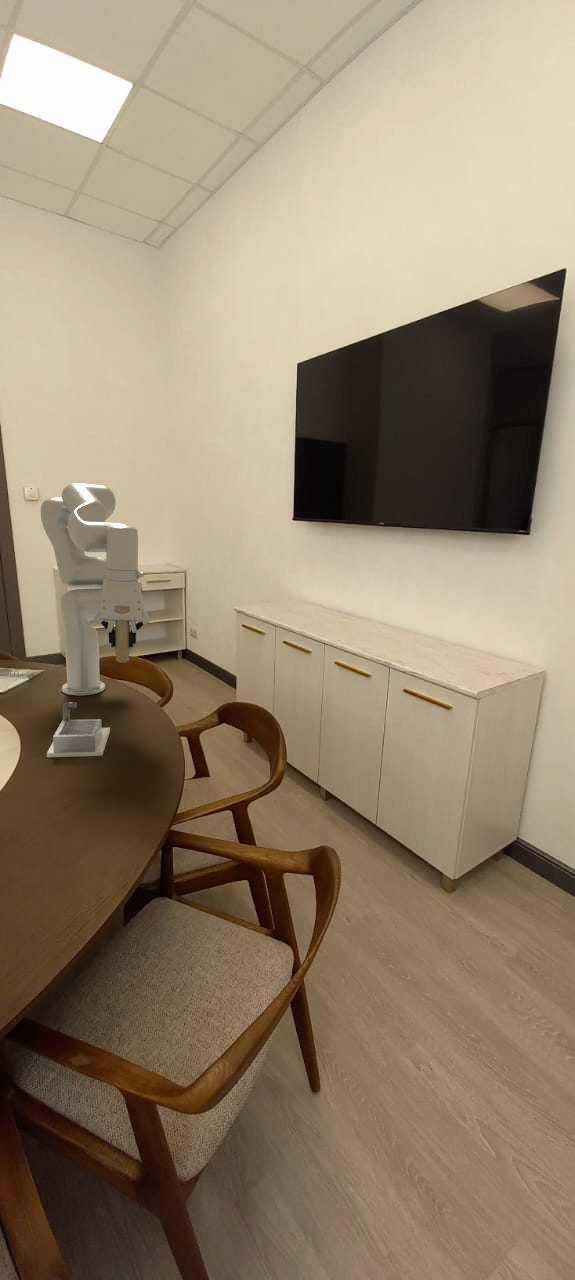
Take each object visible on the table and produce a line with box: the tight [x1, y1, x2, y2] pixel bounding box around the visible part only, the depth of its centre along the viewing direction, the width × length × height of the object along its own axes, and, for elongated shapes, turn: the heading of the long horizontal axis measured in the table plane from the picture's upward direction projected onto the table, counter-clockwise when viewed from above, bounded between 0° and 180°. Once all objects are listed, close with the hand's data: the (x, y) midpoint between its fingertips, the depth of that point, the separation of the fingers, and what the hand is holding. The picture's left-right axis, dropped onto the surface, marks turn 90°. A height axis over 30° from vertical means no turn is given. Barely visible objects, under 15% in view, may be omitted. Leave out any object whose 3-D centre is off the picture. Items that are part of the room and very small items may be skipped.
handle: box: [114, 607, 131, 664], centre depth 133 cm, size 5×6×15 cm
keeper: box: [46, 701, 111, 758], centre depth 124 cm, size 14×12×9 cm
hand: (122, 645), depth 134 cm, fingers closed on handle, 3 cm apart
